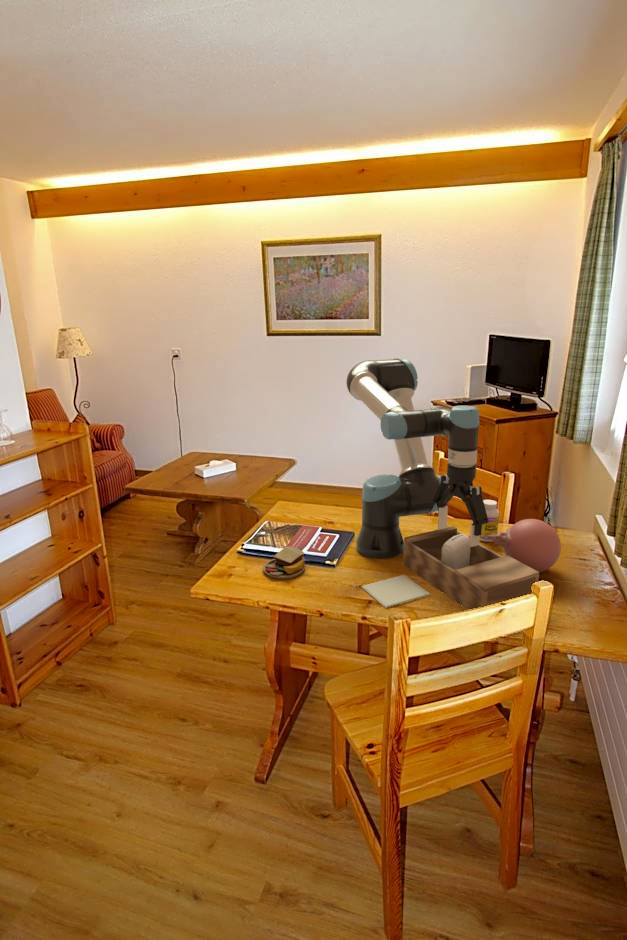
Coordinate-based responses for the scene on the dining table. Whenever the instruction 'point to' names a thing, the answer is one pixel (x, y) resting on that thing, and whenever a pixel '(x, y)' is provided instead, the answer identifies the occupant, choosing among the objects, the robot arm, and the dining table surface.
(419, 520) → the dining table surface
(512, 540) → the pink rubber bulb
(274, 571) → the toy sandwich meal
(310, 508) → the dining table surface
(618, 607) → the dining table surface
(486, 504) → the supplement bottle
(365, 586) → the felt mat
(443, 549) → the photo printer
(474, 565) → the walnut box
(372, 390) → the robot arm
